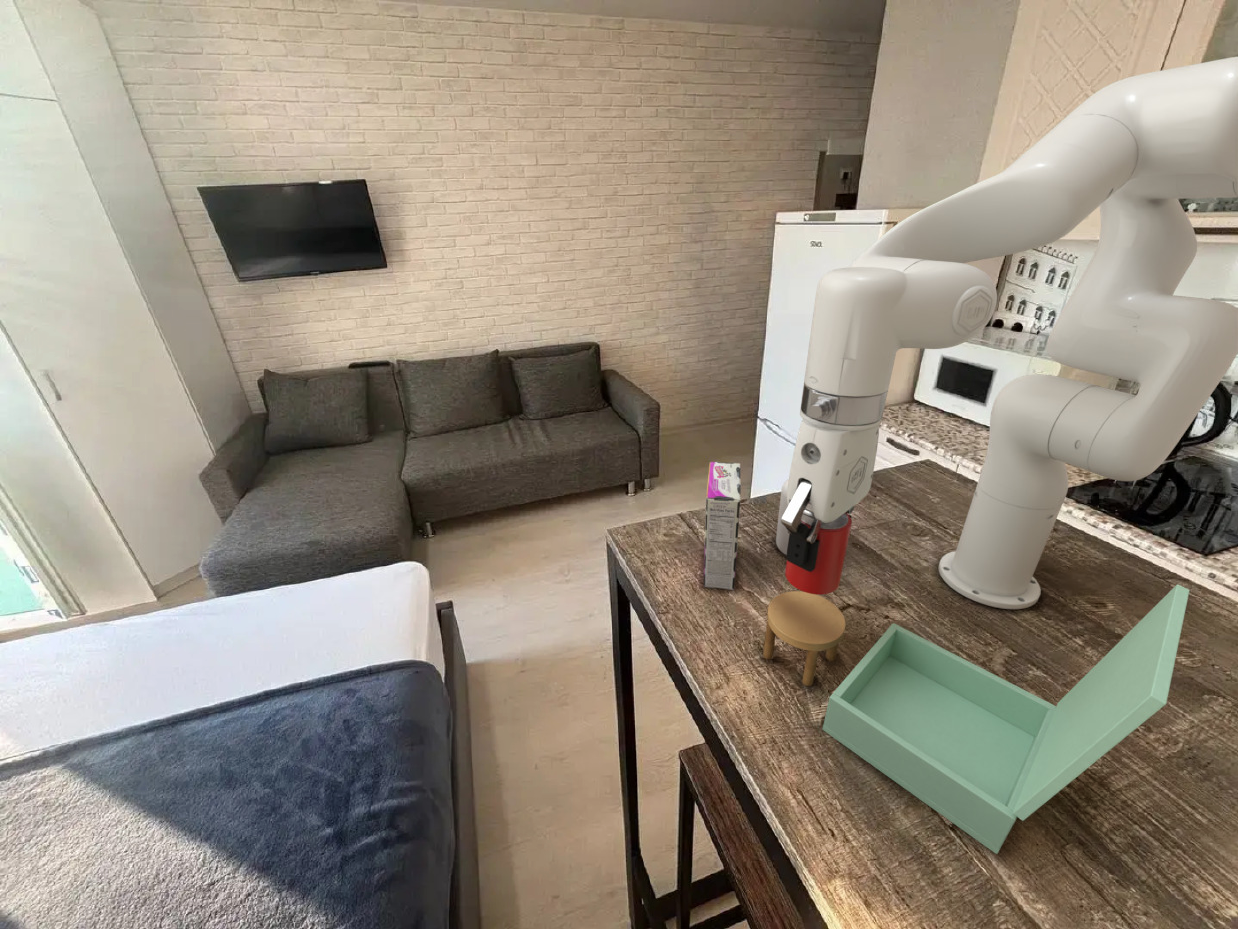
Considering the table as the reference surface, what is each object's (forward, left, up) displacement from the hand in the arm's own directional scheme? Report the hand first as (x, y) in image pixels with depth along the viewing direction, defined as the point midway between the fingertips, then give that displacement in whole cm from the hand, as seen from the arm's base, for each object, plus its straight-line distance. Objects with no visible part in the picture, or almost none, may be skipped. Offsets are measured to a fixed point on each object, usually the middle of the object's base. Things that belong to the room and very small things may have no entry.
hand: (816, 551), depth 58 cm
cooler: (-1, +16, -17) cm, 23 cm away
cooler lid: (-1, +25, -2) cm, 25 cm away
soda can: (0, 0, -4) cm, 4 cm away
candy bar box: (-7, -18, -17) cm, 26 cm away
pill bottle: (-21, -12, -17) cm, 30 cm away
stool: (0, 0, -17) cm, 17 cm away
